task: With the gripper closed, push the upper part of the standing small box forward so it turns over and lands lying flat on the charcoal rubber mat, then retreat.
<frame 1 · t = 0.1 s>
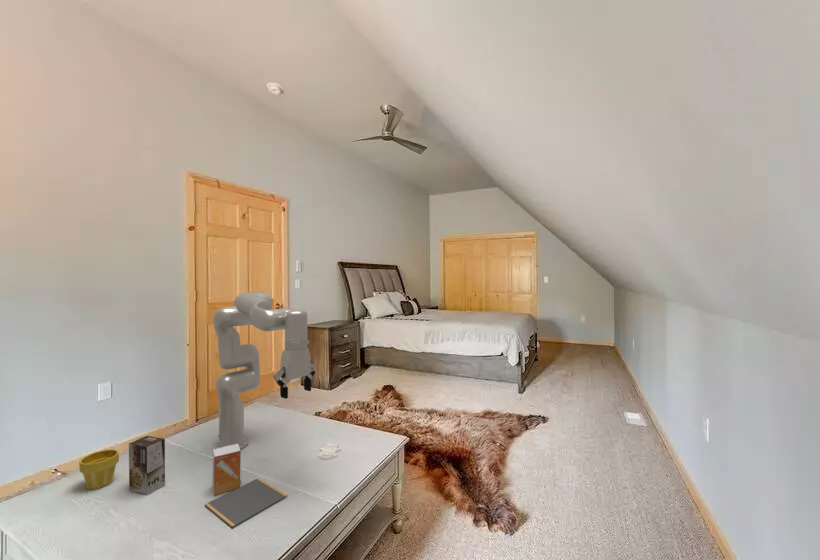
hand: (296, 393, 123), 31 cm above the table, fingers open, 9 cm apart
small box: (226, 488, 120), on the table
mat: (246, 501, 112), on the table
coffee box: (147, 488, 120), on the table
plant pot: (99, 484, 122), on the table
astronaut figurine: (329, 453, 144), on the table
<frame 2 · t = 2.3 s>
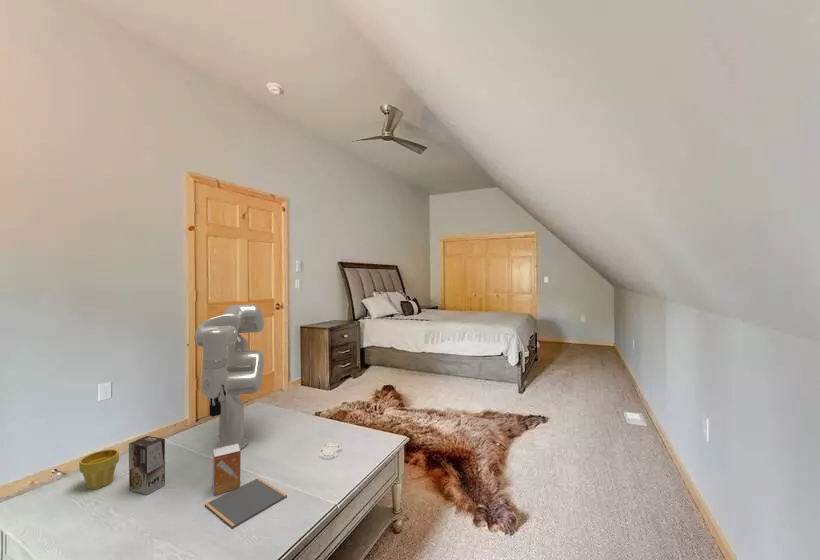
hand: (215, 415, 124), 23 cm above the table, fingers closed
nothing on the table moved.
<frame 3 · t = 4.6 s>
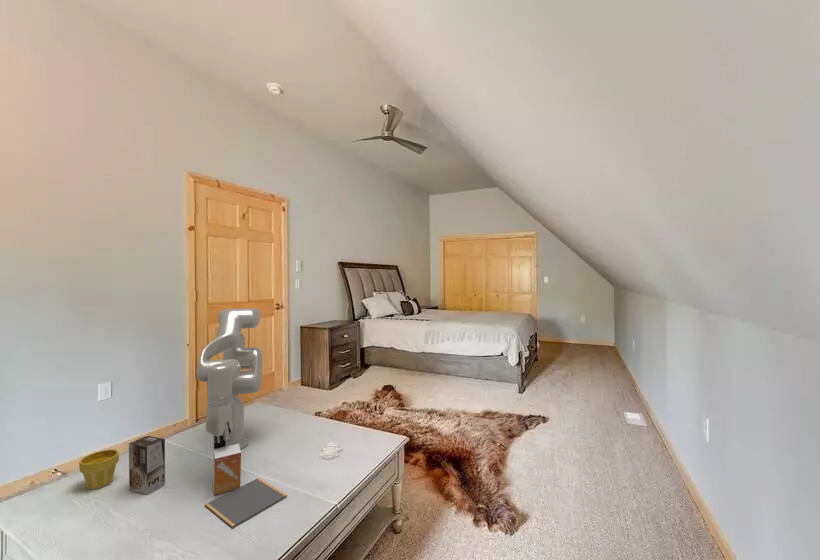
hand: (219, 452, 122), 11 cm above the table, fingers closed
small box: (226, 487, 120), on the table, touching gripper
everything else where it was.
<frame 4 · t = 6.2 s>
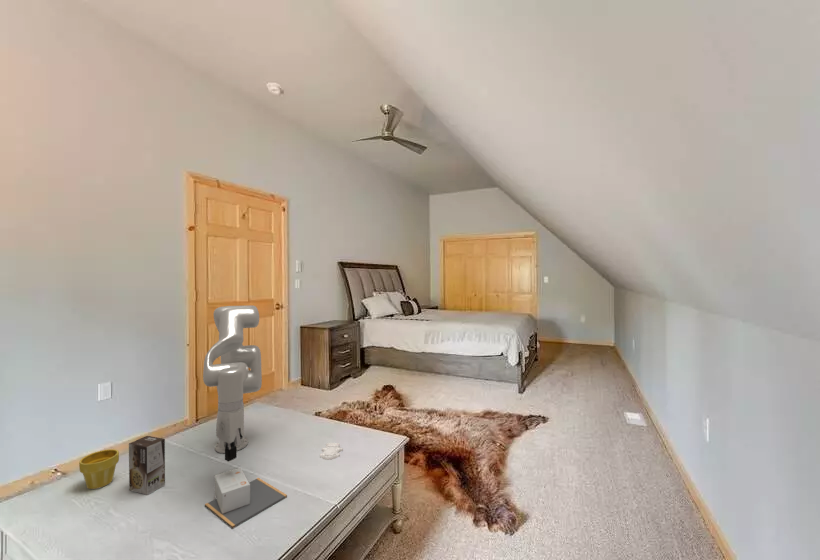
hand: (230, 459, 118), 11 cm above the table, fingers closed
small box: (227, 480, 118), point 4 cm above the table, touching mat
everything else where it was.
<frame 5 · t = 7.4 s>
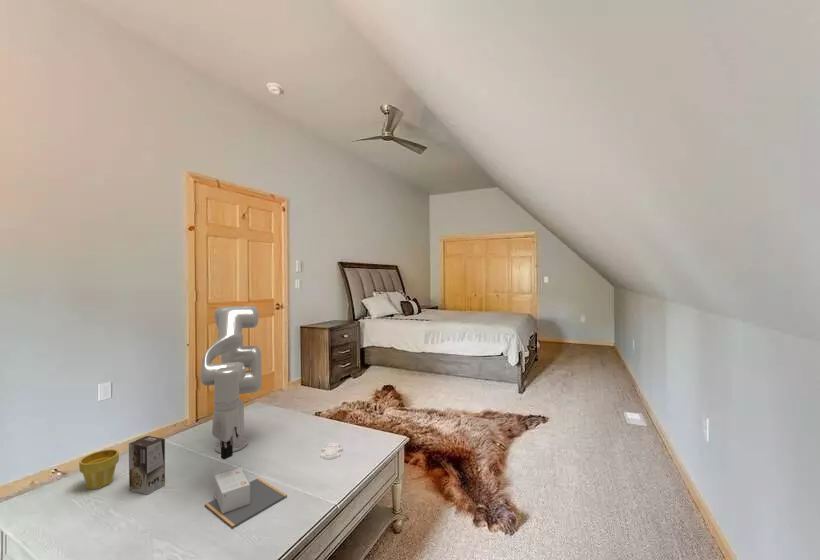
hand: (226, 457, 120), 10 cm above the table, fingers closed
nothing on the table moved.
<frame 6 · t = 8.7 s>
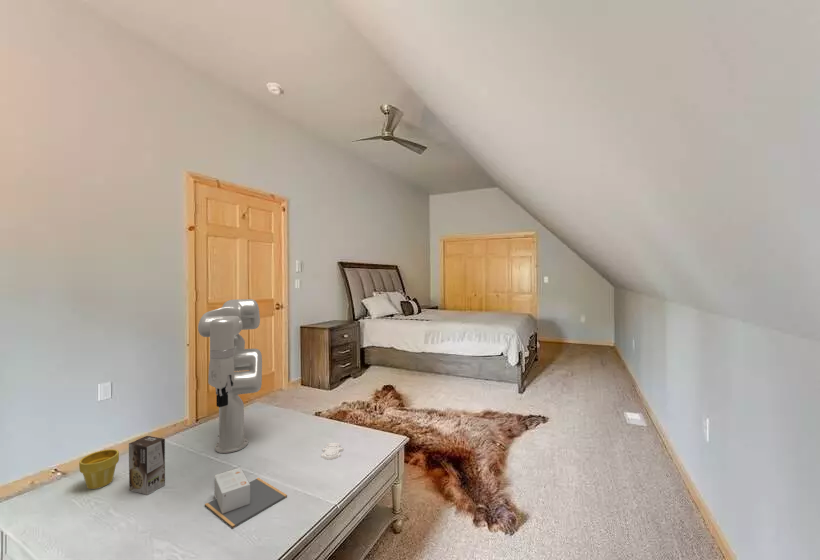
hand: (222, 405, 123), 27 cm above the table, fingers closed
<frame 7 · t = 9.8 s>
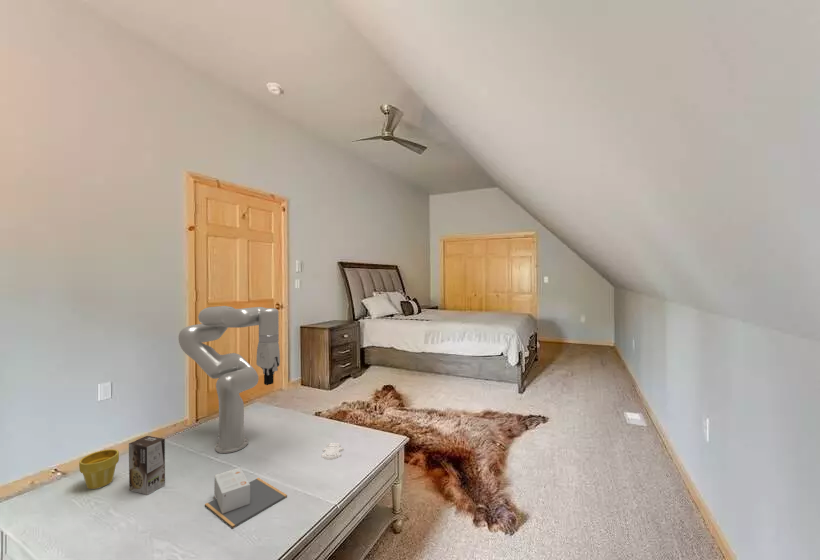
hand: (268, 383, 141), 29 cm above the table, fingers closed
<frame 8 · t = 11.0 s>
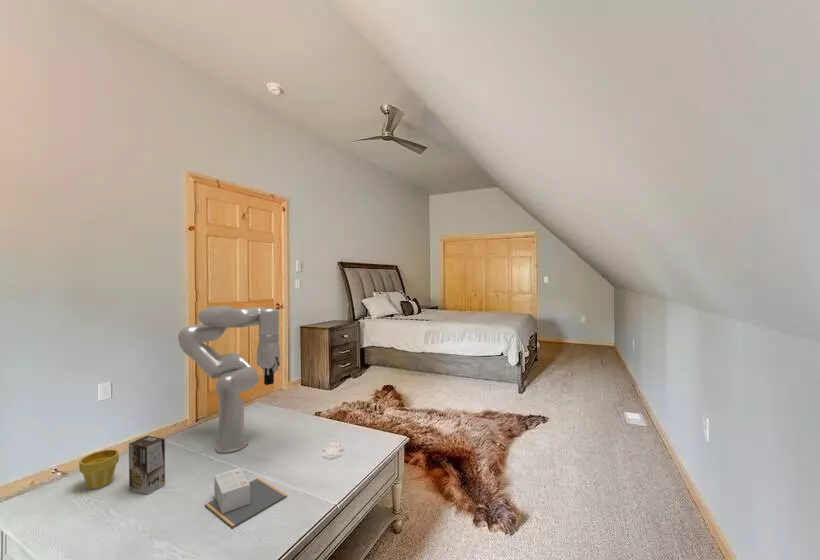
hand: (268, 383, 141), 29 cm above the table, fingers closed
at the end: small box tilted 89°; small box inside the target area on the mat (10.2 cm from its centre), point 3.7 cm above the mat's base; the gripper is holding nothing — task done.
